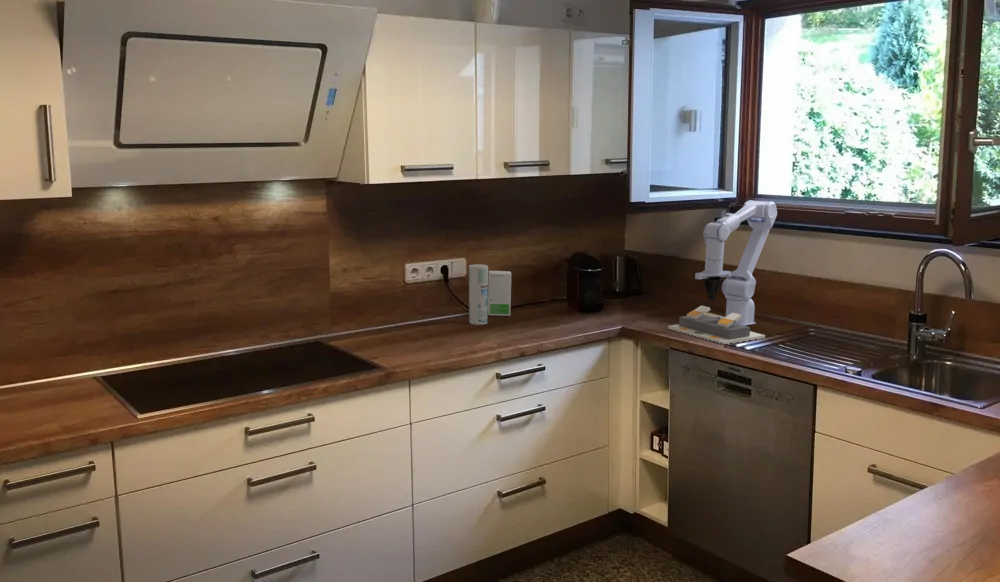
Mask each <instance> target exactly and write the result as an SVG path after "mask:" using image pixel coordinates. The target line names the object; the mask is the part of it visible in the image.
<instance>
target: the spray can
mask: <svg viewBox="0 0 1000 582" xmlns="http://www.w3.org/2000/svg"><path fill="white" fill-rule="evenodd" d="M488 280H489V266H488V265H487V264H480V263H479V264H477V263H475V264H469V266H468V300H469V301H468V302H469V303H468V311H469V314H468V317H469V319H468V321H469V324H470V325H478V326H480V325H487V324H488Z"/></svg>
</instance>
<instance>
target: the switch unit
mask: <svg viewBox="0 0 1000 582" xmlns="http://www.w3.org/2000/svg"><path fill="white" fill-rule="evenodd" d="M720 320H721V319H717V318H713V317H709V316H705V315H702V316H700V317H699V318H697V319H692V318H689V317H687V315H685V316H679V319H678V324H673V325H667V328H668V330H670V329H671V330H670V331H674V330H675V332H679V333H681V332H682V333H681V334H685V333H686V334H685V335H688V334H689V336H692V335H693V337H695V336H696V338H699V337H700V338H699V339H702V338H704V339H703V340H706V339H707V341H709V340H711V341H710V342H713V341H715V342H714V343H716V342H718V343H717V344H720V343H722V344H721V345H724V344H728V345H731V344H730V343H733V344H738V343H737V342H739V343H744V342H743V341H745V342H750V341H749V340H751V341H756V340H755V339H757V340H763V339H766V335H765V334H762V333H757V332H754V331H751V327H750V326H749V325H745V326H744V325H740V324H736V323H733V324H732V325H731V326H729V327H728V328H726V327H722V326H718V324H717V322H719V321H720ZM762 338H763V339H762Z"/></svg>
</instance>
